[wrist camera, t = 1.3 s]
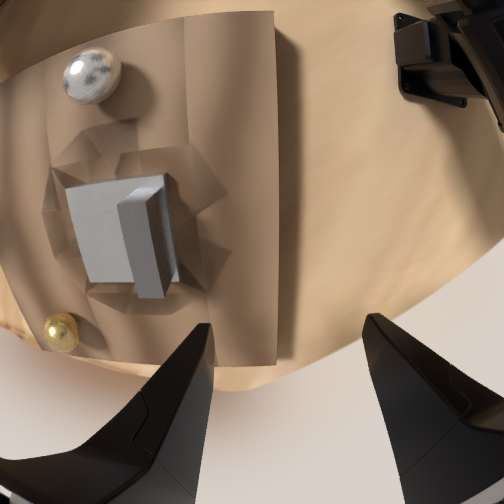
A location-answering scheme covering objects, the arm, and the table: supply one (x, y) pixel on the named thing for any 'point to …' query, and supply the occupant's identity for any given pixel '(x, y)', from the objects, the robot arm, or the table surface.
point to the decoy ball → (62, 332)
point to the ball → (91, 75)
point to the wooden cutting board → (149, 162)
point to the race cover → (127, 232)
